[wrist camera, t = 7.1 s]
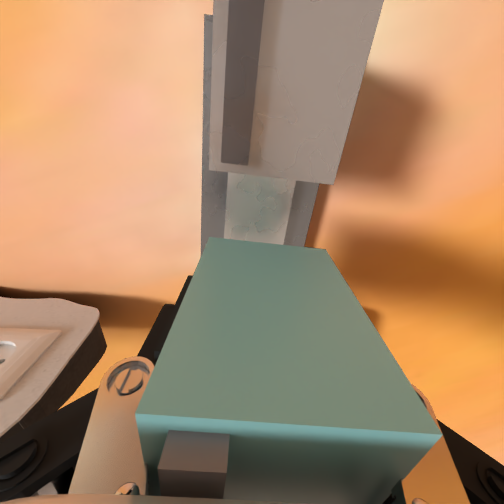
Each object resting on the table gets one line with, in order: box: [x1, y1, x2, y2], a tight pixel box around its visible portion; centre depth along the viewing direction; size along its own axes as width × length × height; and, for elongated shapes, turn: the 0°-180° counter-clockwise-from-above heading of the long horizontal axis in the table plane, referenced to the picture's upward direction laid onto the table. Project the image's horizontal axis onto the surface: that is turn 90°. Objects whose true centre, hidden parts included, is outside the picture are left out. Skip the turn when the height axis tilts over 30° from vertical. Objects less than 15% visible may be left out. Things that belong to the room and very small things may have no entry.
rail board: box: [201, 0, 384, 256], centre depth 15 cm, size 23×8×8 cm, turn 173°
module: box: [135, 237, 443, 504], centre depth 8 cm, size 6×5×8 cm
